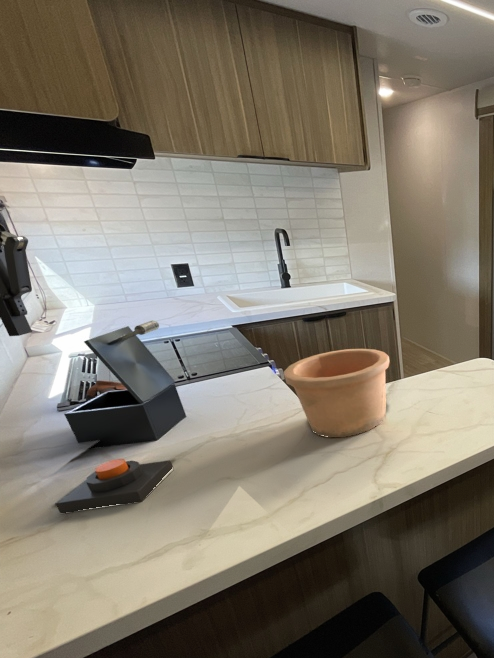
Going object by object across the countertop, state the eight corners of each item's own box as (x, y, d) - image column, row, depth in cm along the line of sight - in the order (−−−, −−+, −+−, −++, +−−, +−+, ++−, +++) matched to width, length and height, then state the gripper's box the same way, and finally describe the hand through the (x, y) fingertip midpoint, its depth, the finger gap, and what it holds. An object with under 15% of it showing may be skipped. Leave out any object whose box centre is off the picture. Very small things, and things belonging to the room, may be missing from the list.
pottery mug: (83, 409, 110) (90, 379, 111) (129, 413, 116) (136, 385, 118) (81, 410, 101) (89, 378, 103) (131, 414, 108) (138, 384, 109)
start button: (92, 481, 69) (88, 473, 68) (109, 468, 72) (105, 460, 72) (119, 478, 69) (115, 469, 69) (134, 465, 73) (130, 457, 72)
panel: (60, 514, 66) (49, 494, 65) (103, 479, 76) (94, 461, 74) (142, 502, 68) (133, 482, 67) (174, 469, 78) (167, 451, 76)
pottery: (363, 394, 108) (354, 343, 103) (416, 415, 95) (408, 357, 90) (282, 426, 93) (266, 368, 88) (330, 455, 80) (315, 389, 74)
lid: (83, 341, 80) (124, 322, 80) (125, 327, 92) (160, 311, 92) (140, 403, 86) (178, 386, 86) (172, 383, 98) (206, 367, 98)
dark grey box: (81, 450, 87) (63, 414, 84) (120, 424, 99) (106, 391, 95) (157, 440, 89) (142, 405, 86) (186, 416, 101) (174, 384, 98)
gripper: (-125, 191, 60) (-44, 342, 69) (-21, 189, 62) (45, 336, 71) (-69, 195, 67) (-2, 331, 76) (22, 193, 69) (78, 326, 78)
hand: (21, 334), depth 73 cm, fingers closed
